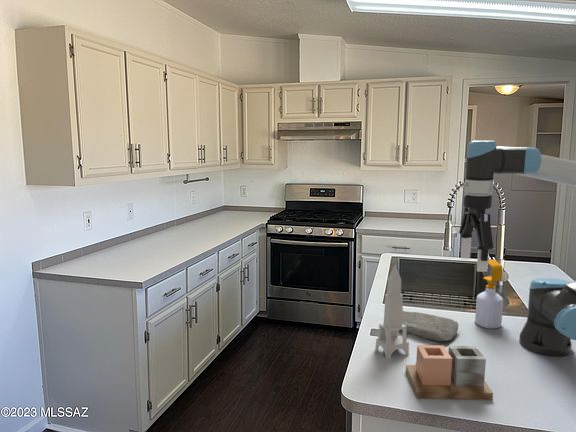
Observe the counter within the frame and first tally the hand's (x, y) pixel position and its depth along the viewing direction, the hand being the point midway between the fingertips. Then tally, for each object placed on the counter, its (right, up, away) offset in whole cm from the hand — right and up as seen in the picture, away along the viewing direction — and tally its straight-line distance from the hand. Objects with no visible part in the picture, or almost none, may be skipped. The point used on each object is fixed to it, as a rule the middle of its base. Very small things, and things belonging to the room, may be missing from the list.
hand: (473, 264), depth 131 cm
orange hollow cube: (-14, -32, -7) cm, 35 cm away
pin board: (-10, -34, -7) cm, 36 cm away
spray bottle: (+20, -26, +33) cm, 47 cm away
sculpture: (-21, -30, +13) cm, 39 cm away
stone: (-8, -28, +29) cm, 41 cm away
